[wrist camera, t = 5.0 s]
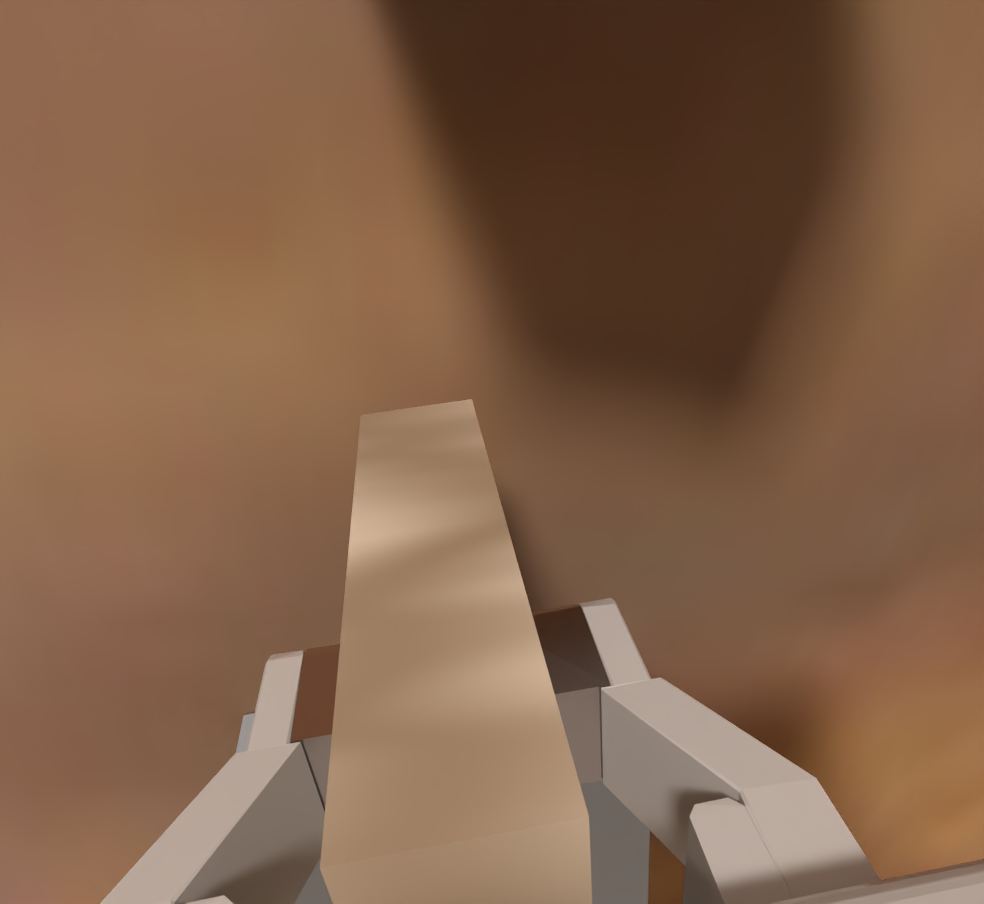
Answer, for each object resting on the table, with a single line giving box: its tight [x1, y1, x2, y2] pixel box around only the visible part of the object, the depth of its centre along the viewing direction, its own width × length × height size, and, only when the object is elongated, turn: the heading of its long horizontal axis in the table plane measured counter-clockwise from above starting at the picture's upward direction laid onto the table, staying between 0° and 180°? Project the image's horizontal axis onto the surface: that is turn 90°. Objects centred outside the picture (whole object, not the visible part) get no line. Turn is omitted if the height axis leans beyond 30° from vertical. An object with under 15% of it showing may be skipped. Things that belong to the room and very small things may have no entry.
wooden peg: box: [320, 399, 592, 904], centre depth 10 cm, size 2×5×8 cm, turn 6°
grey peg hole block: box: [236, 713, 650, 904], centre depth 23 cm, size 12×12×4 cm
